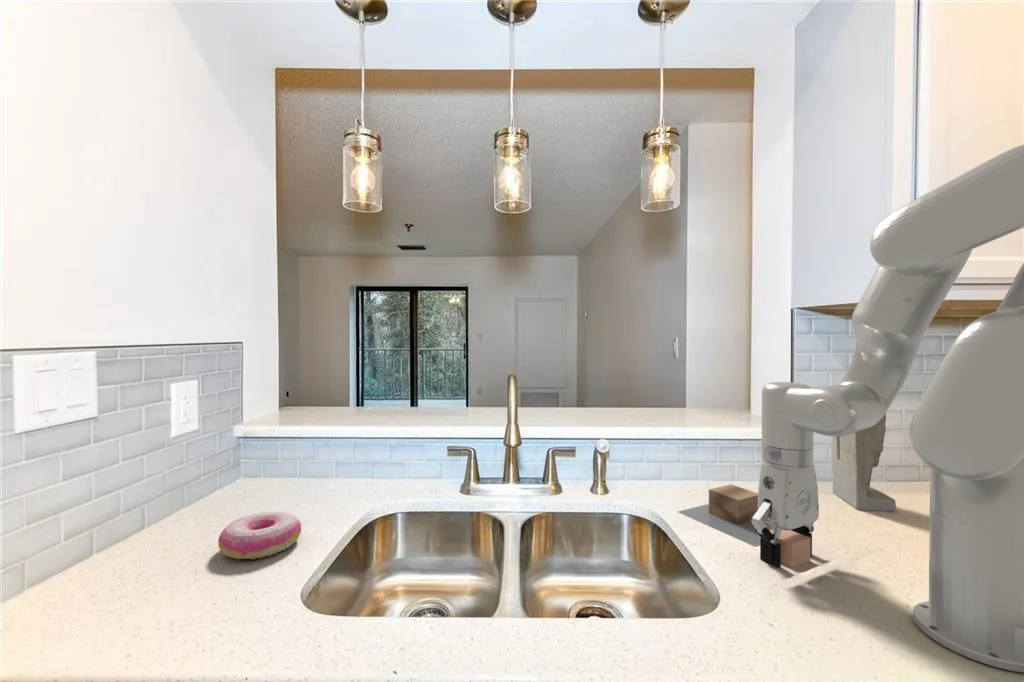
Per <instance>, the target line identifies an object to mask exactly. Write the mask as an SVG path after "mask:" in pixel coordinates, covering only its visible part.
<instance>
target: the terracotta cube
mask: <svg viewBox="0 0 1024 682" xmlns="http://www.w3.org/2000/svg"><path fill="white" fill-rule="evenodd" d="M769 531H770V532H771V533H772V534H773V531H774V529H772V530H769ZM778 543H780V544H781V565H784V566H786V567H789V568H791V569H794V568H796V567H798V566H800V565H803V564H807V563H809V562H811V556H810V537H807V536H804V535H802V534H799V533H797V532H794V531H791V530H788V531H786V530H783V529H782V532H781V534H780V537H779V540H778Z"/></svg>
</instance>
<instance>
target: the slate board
mask: <svg viewBox="0 0 1024 682" xmlns="http://www.w3.org/2000/svg"><path fill="white" fill-rule="evenodd" d="M677 513H678V514H681V515H683V516H686V517H688V518H690V519H692V520H694V521H696V522H699V523H701V524H703V525H705V526H708V527H710V528H712V529H715V530H717V531H719V532H721V533H724V534H726V535H728V536H730V537H733V539H737V540H739V541H741V542H744V543H746V544H748V545H750V546H752V547H755V548H756V547H759V546H760V538H759V537H758V534H757V532H756V531H755V527H754V526H753V524H752V522H747V523H744V524H740V525H737V524H735V523H732V522H730V521H727V520H725V519H723V518H720V517H718V516H715V515H713V514H711V513H709V503H707V504H704V505H700V506H695V507H690V508H687V509H686V508H685V509H684V510H683V509H682V510H678V511H677ZM771 522H774V523H775V520H771ZM768 529H769V530H772V529H774V527H772V526H769V527H768ZM791 531H792V530H791Z"/></svg>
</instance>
